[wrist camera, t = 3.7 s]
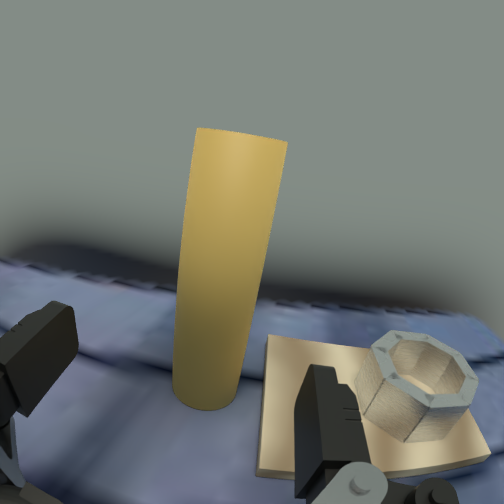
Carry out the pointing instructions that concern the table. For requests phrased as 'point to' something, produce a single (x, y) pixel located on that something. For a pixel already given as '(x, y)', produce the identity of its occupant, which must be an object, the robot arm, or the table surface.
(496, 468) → the table surface
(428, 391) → the birch board
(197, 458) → the table surface
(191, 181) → the ochre steel pin
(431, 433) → the steel ring collar
